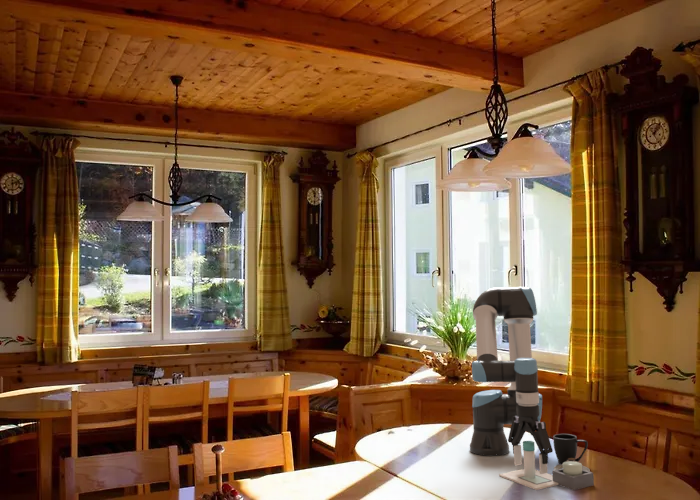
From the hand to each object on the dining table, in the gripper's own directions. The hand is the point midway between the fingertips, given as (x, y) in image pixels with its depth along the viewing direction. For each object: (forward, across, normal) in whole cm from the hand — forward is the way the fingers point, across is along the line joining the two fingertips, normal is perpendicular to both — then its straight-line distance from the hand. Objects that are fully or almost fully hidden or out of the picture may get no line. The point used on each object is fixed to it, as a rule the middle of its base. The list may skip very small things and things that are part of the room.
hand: (530, 468), depth 220 cm
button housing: (+3, +12, +7) cm, 14 cm away
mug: (+3, -5, +24) cm, 25 cm away
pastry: (+4, +1, +18) cm, 18 cm away
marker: (+2, 0, 0) cm, 3 cm away
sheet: (+3, +1, 0) cm, 3 cm away
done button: (+1, +12, +7) cm, 14 cm away
